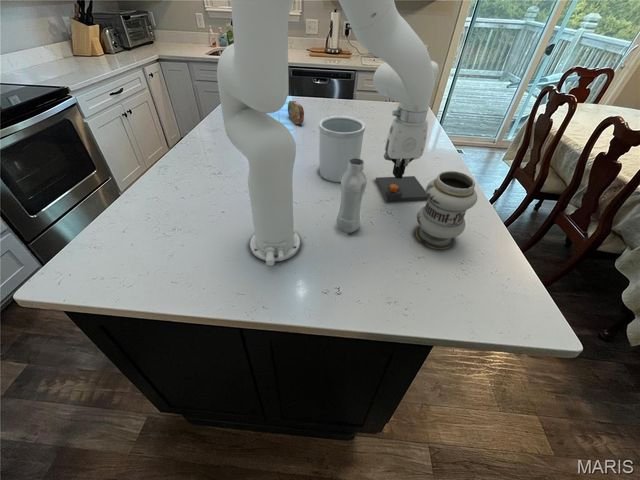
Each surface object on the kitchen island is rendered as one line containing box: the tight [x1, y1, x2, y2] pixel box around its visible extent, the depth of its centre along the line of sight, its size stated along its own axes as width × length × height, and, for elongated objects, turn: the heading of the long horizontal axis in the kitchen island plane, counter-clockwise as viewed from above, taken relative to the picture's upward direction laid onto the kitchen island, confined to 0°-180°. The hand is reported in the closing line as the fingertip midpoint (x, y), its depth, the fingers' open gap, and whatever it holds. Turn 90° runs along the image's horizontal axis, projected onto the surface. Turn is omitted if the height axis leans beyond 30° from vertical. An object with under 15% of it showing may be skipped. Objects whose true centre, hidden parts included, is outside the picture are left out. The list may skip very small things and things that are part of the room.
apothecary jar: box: [415, 170, 478, 250], centre depth 74 cm, size 12×12×18 cm
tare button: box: [389, 184, 398, 192], centre depth 92 cm, size 3×3×2 cm
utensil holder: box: [318, 115, 366, 183], centre depth 99 cm, size 15×15×18 cm
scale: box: [374, 175, 428, 203], centre depth 97 cm, size 13×14×3 cm
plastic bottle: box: [336, 158, 368, 234], centre depth 75 cm, size 6×7×20 cm
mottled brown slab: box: [287, 100, 305, 126], centre depth 138 cm, size 15×3×8 cm, turn 25°
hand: (397, 176), depth 90 cm, fingers closed
